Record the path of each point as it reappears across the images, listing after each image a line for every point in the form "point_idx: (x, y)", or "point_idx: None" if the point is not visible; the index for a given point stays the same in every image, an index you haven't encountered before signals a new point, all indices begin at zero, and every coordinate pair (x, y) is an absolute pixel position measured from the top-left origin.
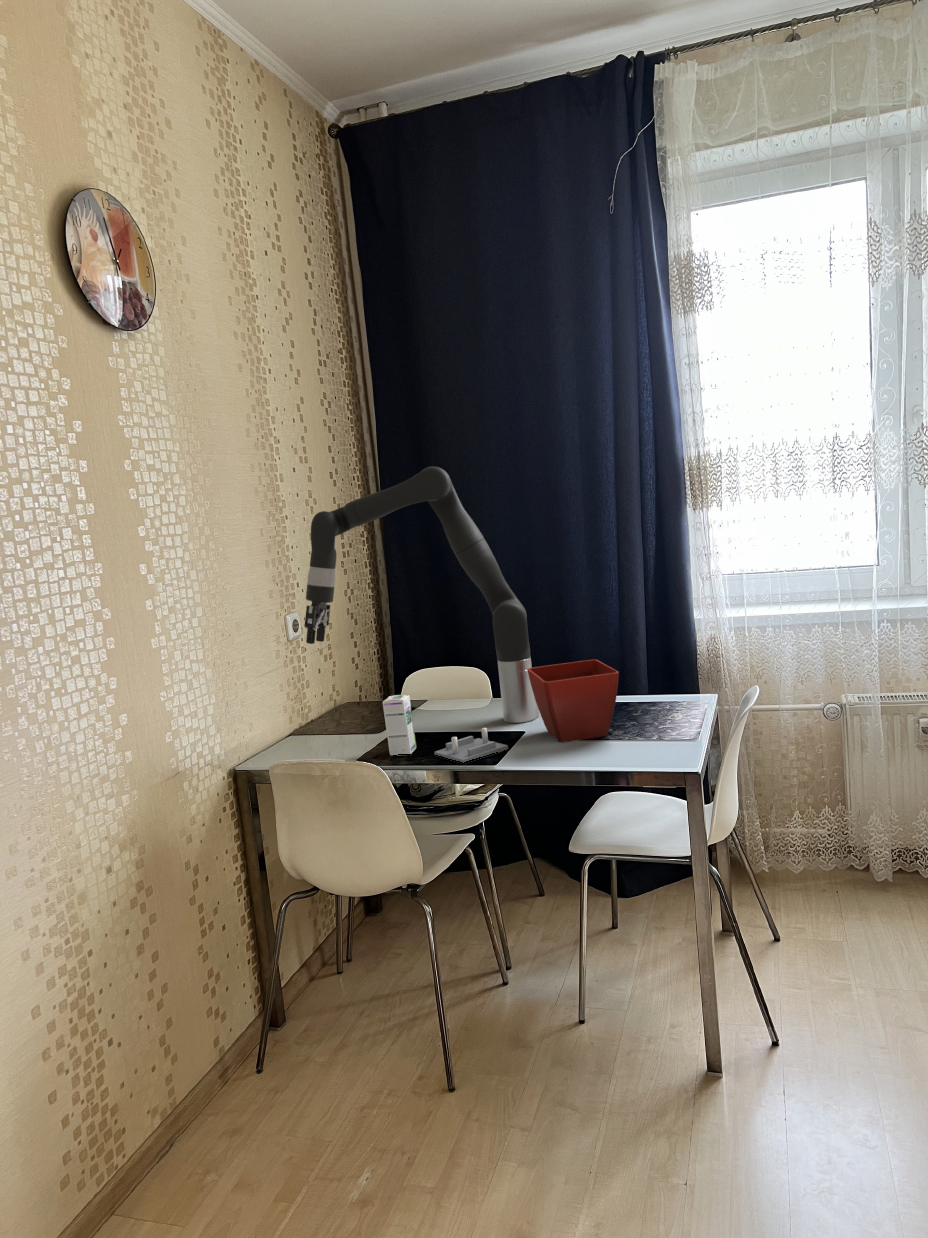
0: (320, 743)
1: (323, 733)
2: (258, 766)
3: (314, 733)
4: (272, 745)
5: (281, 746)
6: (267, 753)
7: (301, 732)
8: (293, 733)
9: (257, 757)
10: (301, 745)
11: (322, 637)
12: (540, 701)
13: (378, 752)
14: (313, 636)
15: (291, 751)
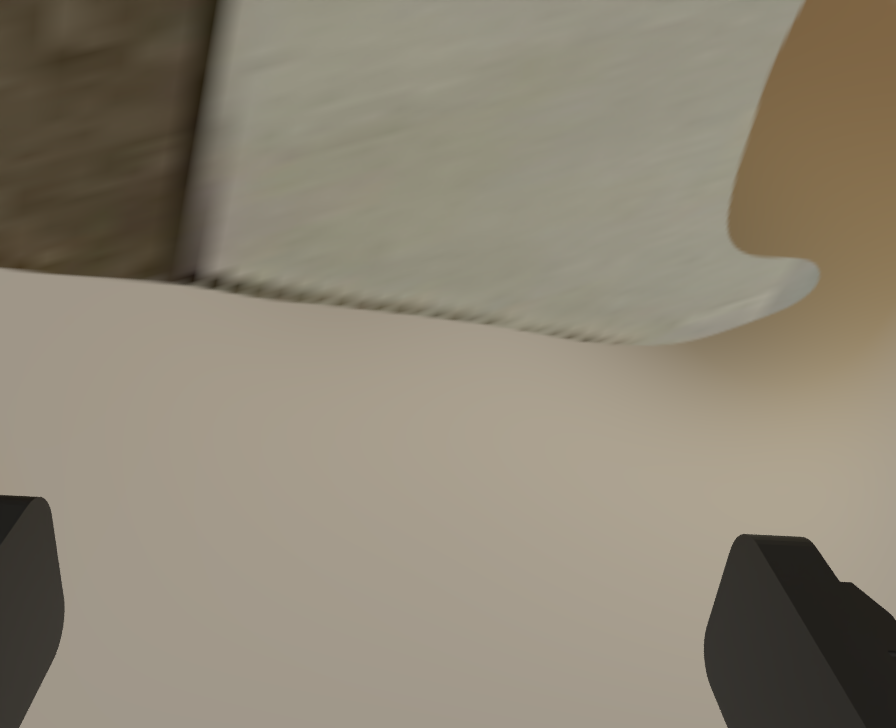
0: (456, 11)
1: (181, 56)
2: (788, 262)
3: (170, 127)
4: (400, 312)
5: (440, 257)
6: (558, 290)
7: (130, 226)
8: (148, 271)
9: (614, 317)
10: (460, 139)
11: (2, 580)
12: None
13: None
14: (879, 675)
15: (576, 166)
